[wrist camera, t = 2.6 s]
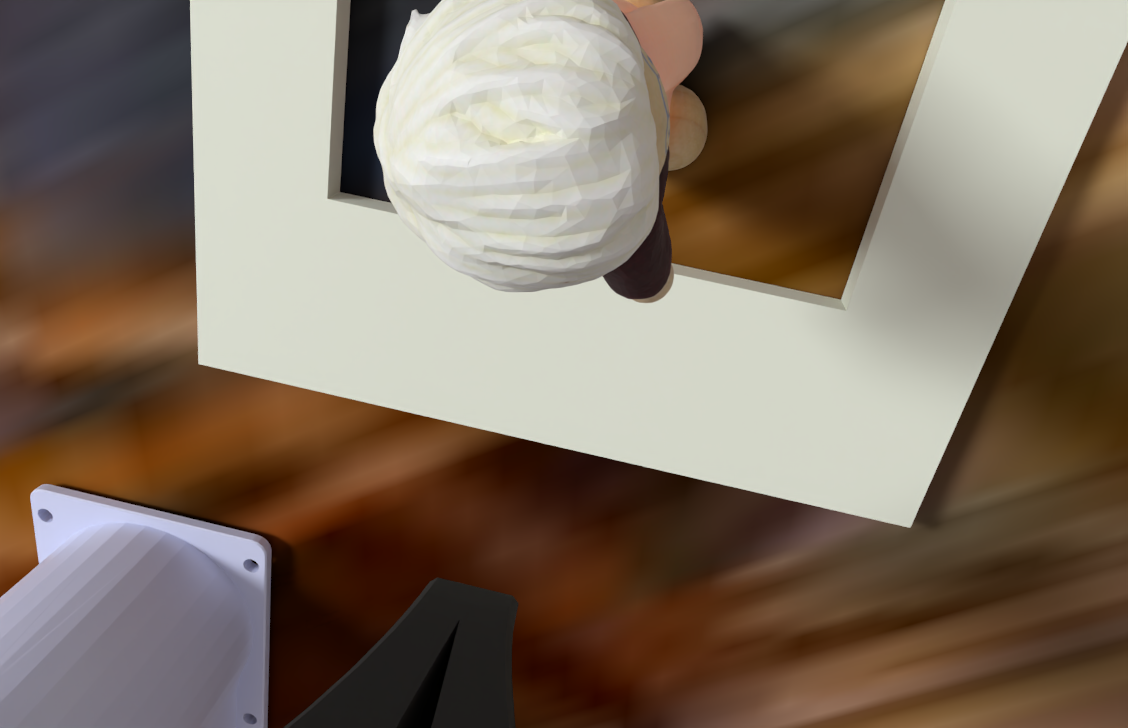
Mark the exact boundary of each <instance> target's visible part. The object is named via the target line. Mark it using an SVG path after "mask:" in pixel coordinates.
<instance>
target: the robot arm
mask: <svg viewBox="0 0 1128 728" xmlns="http://www.w3.org/2000/svg"><path fill="white" fill-rule="evenodd" d="M30 500H31V507H32V514H33V522H34V529H35V537H36V544H37V551H38V559H39V565H38V566H36V567H35V568H34V569H33V570H32V571H31V572H30V573H28V574H27V575H26V576H25V577H24V578H23V579H21V580H20V581H19V582H18V583H17V584H16V585H15V586H13V587H12V588H11V589H10V590H9V591H8V592H7V593H5V594H4V595H3V596H2V597H1V598H0V728H267V727H268V684H269V640H270V596H271V552H272V550H271V545H270V544H269V542H268V541H267V540H266V539H265V538H263V537H262V536H259V535H257V534H253V533H249V532H245V531H240V530H236V529H232V528H228V527H224V526H220V525H216V524H212V523H207V522H203V521H199V520H195V519H191V518H187V517H183V516H178V515H174V514H170V513H166V512H162V511H158V510H154V509H150V508H145V507H141V506H137V505H133V504H129V503H125V502H121V501H117V500H112V499H108V498H104V497H100V496H96V495H92V494H88V493H83V492H79V491H75V490H71V489H67V488H63V487H59V486H55V485H50V484H43V485H41V486H39V487H38V488H36V489H35V490H34V491H33V492H32V493H31V497H30ZM250 559H252V560H254V561H256V563H257V564H258V565H257V564H255V563H253V562H252V561H251V560H250ZM517 608H518V602H517V601H516V600H515V598H514V597H513V596H511V595H507V594H503V593H499V592H495V591H491V590H487V589H482V588H478V587H474V586H470V585H466V584H462V583H458V582H454V581H449V580H445V579H441V578H436V579H434V580H432V581H430V582H429V584H428V585H427V586H426V588H425V589H424V590H423V592H422V593H421V594H420V595H419V597H418V598H417V599H416V600H415V601H414V603H413V604H412V605H411V606H410V607H409V609H408V610H407V611H406V612H405V613H404V614H403V615H402V617H401V618H400V619H399V620H398V621H397V622H396V623H395V624H394V625H393V626H392V628H391V629H390V630H389V631H388V632H387V633H386V634H385V635H384V636H383V637H382V638H381V639H380V640H379V641H378V642H377V643H376V644H375V645H374V646H373V647H372V648H371V649H370V650H369V651H368V652H367V653H366V654H365V655H364V656H363V657H362V658H361V659H360V660H359V661H358V662H357V663H356V664H355V665H354V666H353V667H352V668H351V669H350V670H349V671H348V672H347V673H346V674H345V675H344V676H343V677H342V678H340V679H339V680H338V681H337V682H336V683H335V684H334V685H333V686H331V687H330V688H329V689H328V690H327V691H326V692H325V693H324V694H323V695H321V696H320V697H319V698H318V699H317V700H316V701H315V702H314V703H313V704H311V705H310V706H309V707H308V708H307V709H306V710H304V711H303V712H302V713H301V714H300V715H298V716H297V717H296V718H295V719H294V720H292V721H291V722H290V723H289V724H287V725H286V726H285V727H284V728H516V727H515V718H514V703H513V689H512V637H513V628H514V623H515V618H516V613H517Z"/></svg>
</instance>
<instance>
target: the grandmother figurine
mask: <svg viewBox="0 0 1128 728" xmlns="http://www.w3.org/2000/svg"><path fill="white" fill-rule="evenodd" d="M702 44H703V27H702V24H701V20H700V17H699V15H698V13H697V10H696V8H695V7H694V5H693V4H692V3H691V2H690V1H689V0H442V1H441V2H440V3H439V4H438V5H437V6H436V8H435V9H434V10H433V11H432V12H431V13H430V14H425V15H423V14H419V13H418V11H417V9H416V10H413V11H412V14H411V19H410V21H409V23H408V25H407V27H406V32H405V35H404V38H403V41H402V43H401V47H400V52H399V56H398V60H397V62H396V63H395V65H394V67H393V68H392V70H391V71H390V73H389V74H388V76H387V78H386V80H385V82H384V83H383V85H382V87H381V89H380V93H379V97H378V100H377V105H376V121H375V125H374V129H373V131H374V144H375V148H376V152H377V155H378V158H379V160H380V162H381V164H382V168H383V174H384V184H385V188H386V191H387V194H388V197H389V199H390V200H391V202H392V204H393V206H394V208H395V209H396V211H397V213H398V215H399V217H400V218H401V220H402V221H403V223H404V224H405V225H406V226H407V227H408V228H409V229H410V230H411V231H412V232H414V233H415V234H416V235H417V236H418V237H419V238H420V239H421V240H423V241H424V242H425V243H426V244H427V245H428V247H429V248H430V249H431V251H432V252H433V253H434V254H435V255H436V256H437V257H438V258H440V259H441V260H442V261H443V262H444V263H445V264H446V265H448V266H449V267H451V268H453V269H454V270H456V271H458V272H460V273H463V274H465V275H468V276H470V277H472V278H473V279H475V280H477V281H479V282H481V283H483V284H485V285H487V286H489V287H491V288H493V289H495V290H500V291H505V292H536V291H540V290H545V289H553V288H562V287H568V286H573V285H578V284H581V283H585V282H588V281H592V280H596V279H598V278H599V277H601V276H603V278H604V279H605V281H606V282H607V284H608V285H609V287H610V288H611V289H612V290H613V291H614V292H615V293H617V294H619V295H621V296H623V297H625V298H627V299H632V300H634V301H636V302H639V303H653V302H656V301H658V300H660V299H662V298H663V297H664V296H665V295H666V294H667V293H668V292H669V290H670V289H671V287H672V284H673V279H674V270H673V266H672V264H671V257H672V249H671V240H670V236H669V230H668V226H667V222H666V217H665V214H664V210H663V205H662V201H663V197H664V192H665V186H666V181H667V175H668V171H671V170H677V169H680V168H683V167H686V166H687V165H689V164H690V163H692V162H693V161H694V160H695V159H696V158H697V157H698V156H699V154H700V153H701V151H702V149H703V148H704V145H705V142H706V139H707V132H708V130H707V117H706V112H705V108H704V106H703V104H702V102H701V101H700V99H699V97H698V96H697V95H696V94H695V93H694V92H693V91H692V90H690V89H688V88H686V87H684V86H682V85H679V84H680V83H681V82H682V81H683V80H684V79H685V78H686V77H687V76H688V74H689V73H690V72H691V71H692V70H693V69H694V67H695V66H696V64H697V62H698V60H699V58H700V55H701V51H702Z"/></svg>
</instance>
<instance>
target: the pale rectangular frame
mask: <svg viewBox="0 0 1128 728" xmlns="http://www.w3.org/2000/svg"><path fill="white" fill-rule="evenodd" d="M350 2H351V0H190V20H191V63H192V106H193V148H194V191H195V234H196V276H197V319H198V362H199V364H201V365H206V366H210V367H214V368H219V369H223V370H227V371H232V372H236V373H240V374H245V375H249V376H253V377H258V378H262V379H266V380H271V381H275V382H279V383H284V384H288V385H292V386H297V387H301V388H305V389H310V390H314V391H318V392H323V393H327V394H331V395H336V396H340V397H345V398H349V399H353V400H358V401H362V402H366V403H371V404H375V405H379V406H384V407H388V408H392V409H397V410H401V411H405V412H410V413H414V414H418V415H423V416H427V417H431V418H436V419H440V420H444V421H449V422H453V423H457V424H462V425H466V426H470V427H475V428H479V429H483V430H488V431H492V432H496V433H501V434H505V435H509V436H514V437H518V438H522V439H527V440H531V441H536V442H540V443H544V444H549V445H553V446H557V447H562V448H566V449H570V450H575V451H579V452H583V453H588V454H592V455H596V456H601V457H605V458H609V459H614V460H618V461H622V462H627V463H631V464H635V465H640V466H644V467H648V468H653V469H657V470H661V471H666V472H670V473H674V474H679V475H683V476H687V477H692V478H696V479H700V480H705V481H709V482H713V483H718V484H722V485H727V486H731V487H735V488H740V489H744V490H748V491H753V492H757V493H761V494H766V495H770V496H774V497H779V498H783V499H787V500H792V501H796V502H800V503H805V504H809V505H813V506H818V507H822V508H826V509H831V510H835V511H839V512H844V513H848V514H852V515H857V516H861V517H865V518H870V519H874V520H878V521H883V522H887V523H891V524H896V525H900V526H904V527H909V528H910V527H911V525H912V523H913V521H914V518H915V516H916V514H917V512H918V510H919V507H920V505H921V503H922V501H923V498H924V496H925V494H926V492H927V489H928V487H929V485H930V483H931V480H932V478H933V476H934V474H935V471H936V469H937V467H938V465H939V463H940V460H941V458H942V456H943V454H944V451H945V449H946V447H947V445H948V442H949V440H950V438H951V436H952V433H953V431H954V429H955V427H956V425H957V422H958V420H959V418H960V416H961V413H962V411H963V409H964V407H965V404H966V402H967V400H968V398H969V395H970V393H971V391H972V389H973V386H974V384H975V382H976V380H977V378H978V375H979V373H980V371H981V369H982V366H983V364H984V362H985V360H986V357H987V355H988V353H989V351H990V348H991V346H992V344H993V342H994V340H995V337H996V335H997V333H998V331H999V328H1000V326H1001V324H1002V322H1003V319H1004V317H1005V315H1006V313H1007V310H1008V308H1009V306H1010V304H1011V301H1012V299H1013V297H1014V295H1015V293H1016V290H1017V288H1018V286H1019V284H1020V281H1021V279H1022V277H1023V275H1024V272H1025V270H1026V268H1027V266H1028V263H1029V261H1030V259H1031V257H1032V255H1033V252H1034V250H1035V248H1036V246H1037V243H1038V241H1039V239H1040V237H1041V234H1042V232H1043V230H1044V228H1045V225H1046V223H1047V221H1048V219H1049V216H1050V214H1051V212H1052V210H1053V208H1054V205H1055V203H1056V201H1057V199H1058V196H1059V194H1060V192H1061V190H1062V187H1063V185H1064V183H1065V181H1066V178H1067V176H1068V174H1069V172H1070V170H1071V167H1072V165H1073V163H1074V161H1075V158H1076V156H1077V154H1078V152H1079V149H1080V147H1081V145H1082V143H1083V140H1084V138H1085V136H1086V134H1087V131H1088V129H1089V127H1090V125H1091V123H1092V120H1093V118H1094V116H1095V114H1096V111H1097V109H1098V107H1099V105H1100V102H1101V100H1102V98H1103V96H1104V93H1105V91H1106V89H1107V87H1108V85H1109V82H1110V80H1111V78H1112V76H1113V73H1114V71H1115V69H1116V67H1117V64H1118V62H1119V60H1120V58H1121V55H1122V53H1123V51H1124V49H1125V47H1126V44H1127V42H1128V0H945V3H944V5H943V8H942V11H941V14H940V17H939V20H938V23H937V26H936V28H935V31H934V34H933V37H932V40H931V43H930V46H929V49H928V51H927V54H926V57H925V60H924V63H923V66H922V69H921V72H920V74H919V77H918V80H917V83H916V86H915V89H914V92H913V94H912V97H911V100H910V103H909V106H908V109H907V112H906V115H905V117H904V120H903V123H902V126H901V129H900V132H899V135H898V138H897V140H896V143H895V146H894V149H893V152H892V155H891V158H890V161H889V163H888V166H887V169H886V172H885V175H884V178H883V181H882V183H881V186H880V189H879V192H878V195H877V198H876V201H875V204H874V206H873V209H872V212H871V215H870V218H869V221H868V224H867V227H866V229H865V232H864V235H863V238H862V241H861V244H860V247H859V250H858V252H857V255H856V258H855V261H854V264H853V267H852V270H851V273H850V275H849V278H848V281H847V284H846V287H845V290H844V293H843V295H842V298H841V300H840V299H835V298H831V297H826V296H821V295H817V294H812V293H807V292H803V291H798V290H793V289H789V288H784V287H779V286H775V285H770V284H765V283H761V282H756V281H752V280H747V279H742V278H738V277H733V276H728V275H724V274H719V273H714V272H710V271H705V270H700V269H696V268H691V267H687V266H682V265H677V264H673V263H671V264H672V266H673V270H674V279H673V284H672V287H671V289H670V290H669V292H668V293H667V294H666V295H665V296H664V297H663V298H662V299H660V300H658V301H656V302H653V303H639V302H636V301H634V300H632V299H627V298H625V297H623V296H621V295H619V294H617V293H615V292H614V291H613V290H612V289H611V288H610V287H609V285H608V284H607V282H606V281H605V279H604V278H603V276H601V277H599V278H598V279H596V280H592V281H588V282H585V283H581V284H578V285H573V286H568V287H562V288H553V289H545V290H540V291H536V292H505V291H500V290H495V289H493V288H491V287H489V286H487V285H485V284H483V283H481V282H479V281H477V280H475V279H473V278H472V277H470V276H468V275H465V274H463V273H460V272H458V271H456V270H454V269H453V268H451V267H449V266H448V265H446V264H445V263H444V262H443V261H442V260H441V259H440V258H438V257H437V256H436V255H435V254H434V253H433V252H432V251H431V249H430V248H429V247H428V245H427V244H426V243H425V242H424V241H423V240H421V239H420V238H419V237H418V236H417V235H416V234H415V233H414V232H412V231H411V230H410V229H409V228H408V227H407V226H406V225H405V224H404V223H403V221H402V220H401V218H400V217H399V215H398V213H397V211H396V209H395V208H394V206H393V204H392V203H389V202H385V201H380V200H375V199H371V198H366V197H361V196H357V195H352V194H347V193H343V192H340V182H341V164H342V146H343V128H344V110H345V92H346V74H347V56H348V38H349V20H350Z"/></svg>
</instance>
